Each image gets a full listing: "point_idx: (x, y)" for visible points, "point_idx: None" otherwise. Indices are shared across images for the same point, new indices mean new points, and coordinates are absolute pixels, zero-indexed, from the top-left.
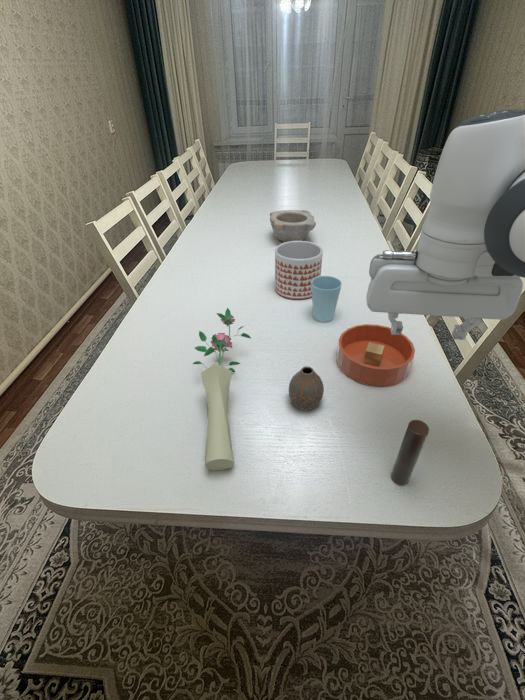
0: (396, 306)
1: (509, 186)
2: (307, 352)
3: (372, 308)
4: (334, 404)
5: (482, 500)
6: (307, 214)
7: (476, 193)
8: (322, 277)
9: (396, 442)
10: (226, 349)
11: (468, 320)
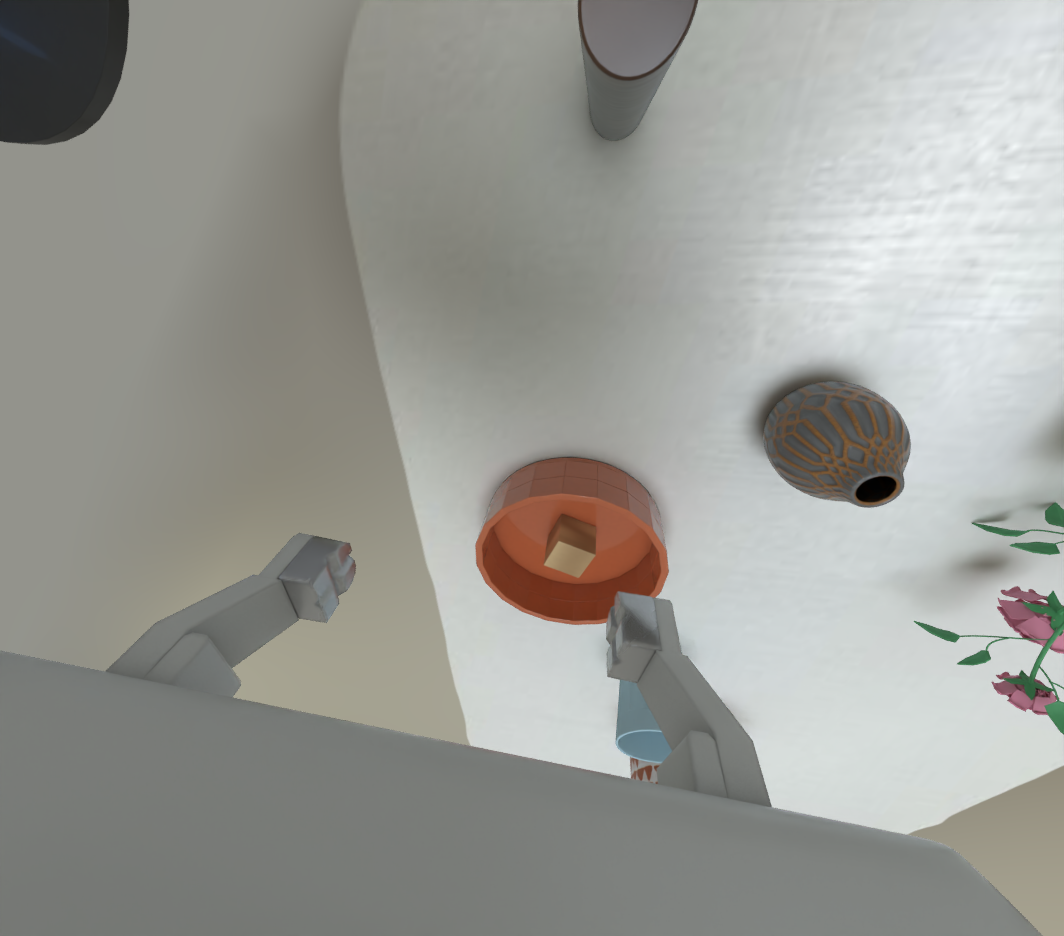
0: (789, 918)
1: None
2: (723, 566)
3: (1002, 907)
4: (718, 404)
5: (382, 21)
6: None
7: None
8: (656, 758)
9: (584, 264)
10: (1013, 595)
11: (238, 646)
